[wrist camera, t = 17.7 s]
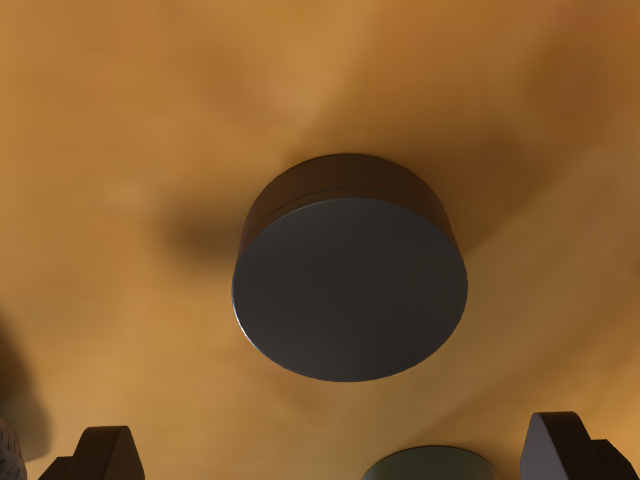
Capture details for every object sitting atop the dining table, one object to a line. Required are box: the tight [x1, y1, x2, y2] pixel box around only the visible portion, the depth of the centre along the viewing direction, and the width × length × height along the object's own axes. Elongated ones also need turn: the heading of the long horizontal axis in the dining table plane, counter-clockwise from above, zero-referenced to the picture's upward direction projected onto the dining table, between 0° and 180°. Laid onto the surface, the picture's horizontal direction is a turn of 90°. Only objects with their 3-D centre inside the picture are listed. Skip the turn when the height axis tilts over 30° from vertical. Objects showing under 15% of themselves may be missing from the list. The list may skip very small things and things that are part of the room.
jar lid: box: [232, 154, 468, 382], centre depth 17 cm, size 6×6×3 cm
